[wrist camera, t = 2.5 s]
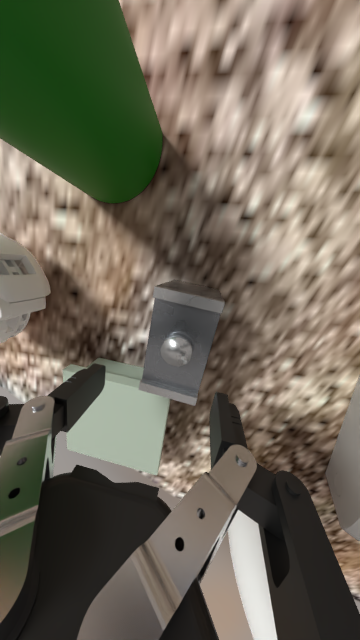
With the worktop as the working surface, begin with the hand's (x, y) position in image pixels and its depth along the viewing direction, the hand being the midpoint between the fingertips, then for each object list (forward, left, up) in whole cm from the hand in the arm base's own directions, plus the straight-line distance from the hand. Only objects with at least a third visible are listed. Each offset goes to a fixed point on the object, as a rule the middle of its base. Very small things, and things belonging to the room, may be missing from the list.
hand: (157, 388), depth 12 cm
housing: (-1, -2, -10) cm, 10 cm away
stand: (+5, +10, -9) cm, 15 cm away
